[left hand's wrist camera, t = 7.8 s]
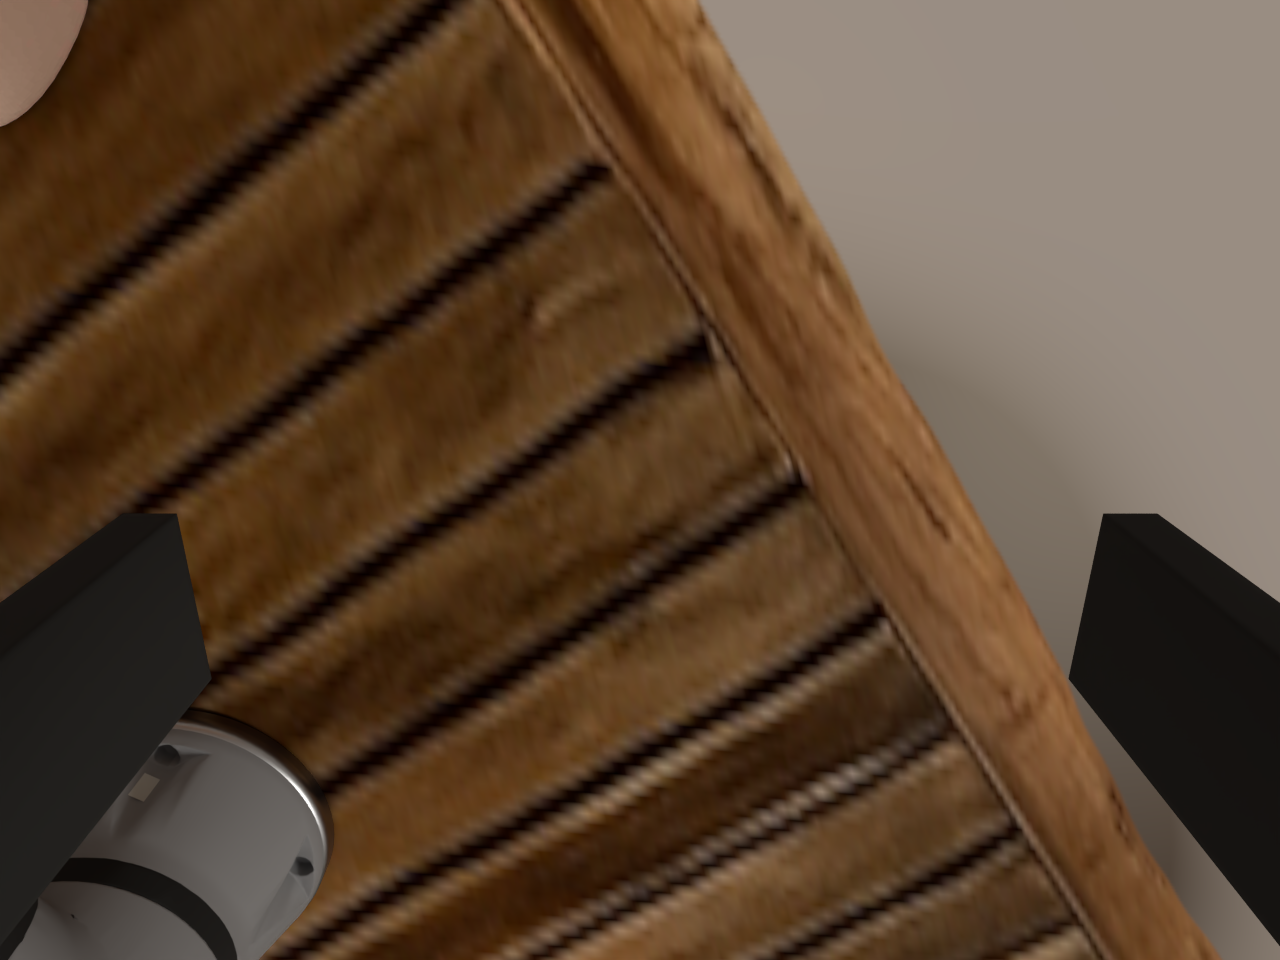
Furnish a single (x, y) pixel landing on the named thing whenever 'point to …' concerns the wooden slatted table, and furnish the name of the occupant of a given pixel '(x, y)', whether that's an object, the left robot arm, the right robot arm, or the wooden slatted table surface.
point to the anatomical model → (34, 49)
